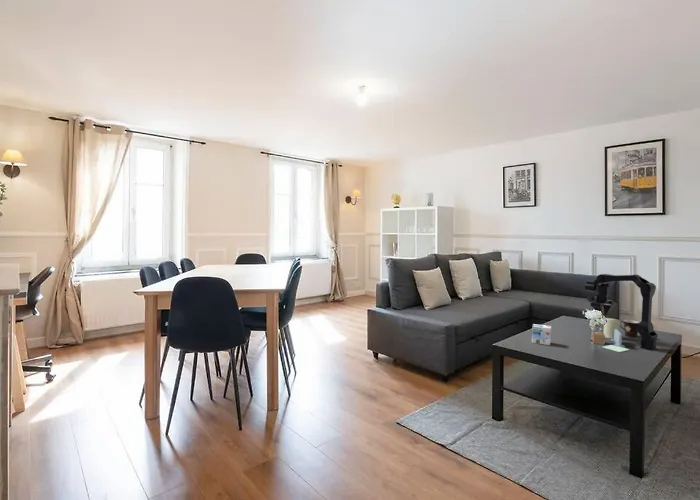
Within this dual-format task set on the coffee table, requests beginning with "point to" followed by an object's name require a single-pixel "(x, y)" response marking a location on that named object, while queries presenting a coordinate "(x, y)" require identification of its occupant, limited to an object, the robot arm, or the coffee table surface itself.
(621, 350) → the mat
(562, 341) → the coffee table surface
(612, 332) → the can
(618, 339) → the screen
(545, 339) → the light bulb box
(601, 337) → the letter cube
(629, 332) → the coffee mug
